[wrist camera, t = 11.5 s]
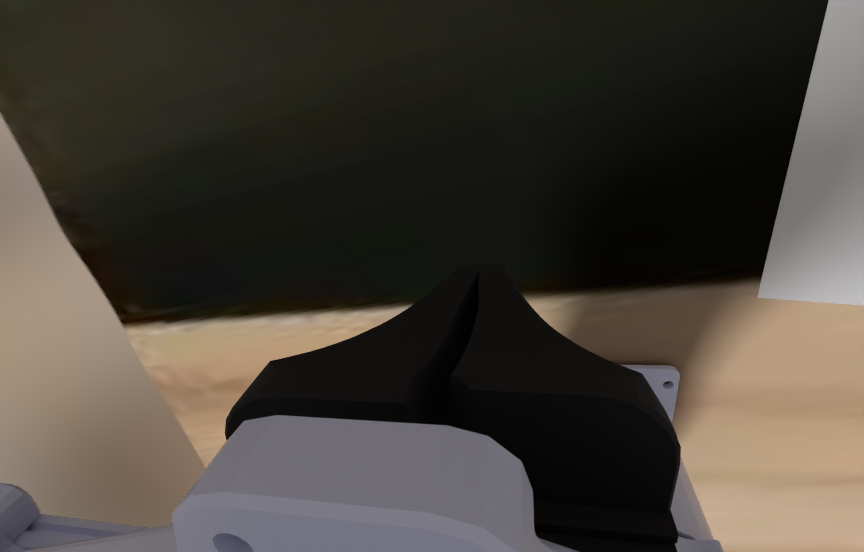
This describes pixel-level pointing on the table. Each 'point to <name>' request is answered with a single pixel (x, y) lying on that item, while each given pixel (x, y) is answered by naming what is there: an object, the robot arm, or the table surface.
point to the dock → (825, 176)
